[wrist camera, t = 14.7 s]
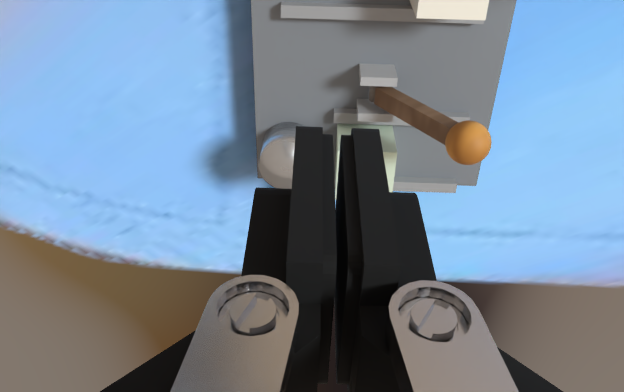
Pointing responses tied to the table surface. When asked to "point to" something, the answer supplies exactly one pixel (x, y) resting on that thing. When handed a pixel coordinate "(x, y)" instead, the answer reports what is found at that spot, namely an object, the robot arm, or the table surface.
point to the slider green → (387, 147)
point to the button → (278, 155)
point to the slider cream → (450, 9)
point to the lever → (436, 125)
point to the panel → (377, 74)
